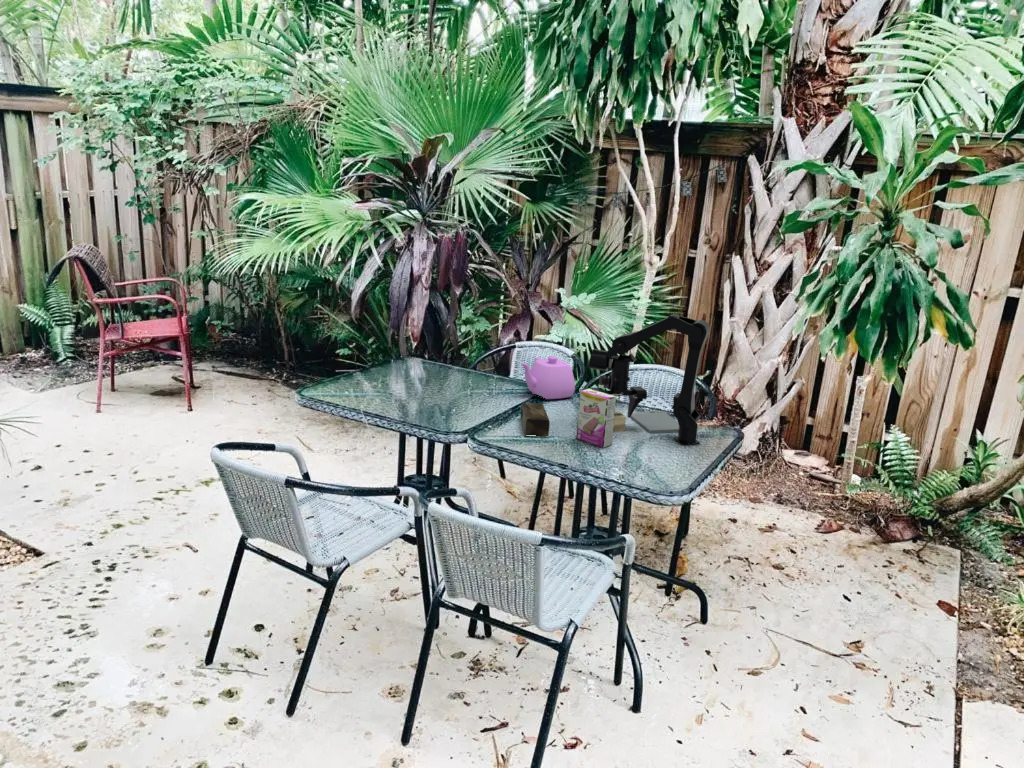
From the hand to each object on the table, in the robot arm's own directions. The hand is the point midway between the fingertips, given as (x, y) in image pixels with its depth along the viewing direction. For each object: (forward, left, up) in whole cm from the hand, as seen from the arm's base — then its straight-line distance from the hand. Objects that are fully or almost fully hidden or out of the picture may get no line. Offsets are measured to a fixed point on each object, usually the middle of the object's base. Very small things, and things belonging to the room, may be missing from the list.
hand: (616, 417), depth 255 cm
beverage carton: (+4, +27, -4) cm, 28 cm away
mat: (+3, -17, -4) cm, 18 cm away
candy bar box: (-12, +12, -4) cm, 17 cm away
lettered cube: (0, 0, -4) cm, 4 cm away
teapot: (+40, +11, -4) cm, 42 cm away
